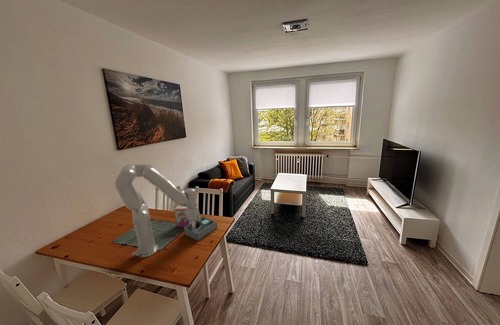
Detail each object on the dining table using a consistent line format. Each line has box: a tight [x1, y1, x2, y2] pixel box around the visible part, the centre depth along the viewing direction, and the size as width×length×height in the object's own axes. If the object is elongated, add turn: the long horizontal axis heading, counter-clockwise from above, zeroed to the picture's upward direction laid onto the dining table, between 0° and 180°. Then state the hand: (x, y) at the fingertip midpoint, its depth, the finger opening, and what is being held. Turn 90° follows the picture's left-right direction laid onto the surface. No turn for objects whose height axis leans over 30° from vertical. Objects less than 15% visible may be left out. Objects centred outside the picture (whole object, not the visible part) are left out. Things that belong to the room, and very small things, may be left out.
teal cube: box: [201, 219, 210, 229], centre depth 157 cm, size 5×5×5 cm
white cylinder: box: [191, 220, 198, 229], centre depth 148 cm, size 5×5×7 cm
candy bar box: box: [173, 205, 191, 228], centre depth 161 cm, size 11×5×16 cm, turn 84°
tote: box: [183, 216, 218, 242], centre depth 154 cm, size 20×16×6 cm
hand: (195, 226), depth 149 cm, fingers closed on white cylinder, 4 cm apart
